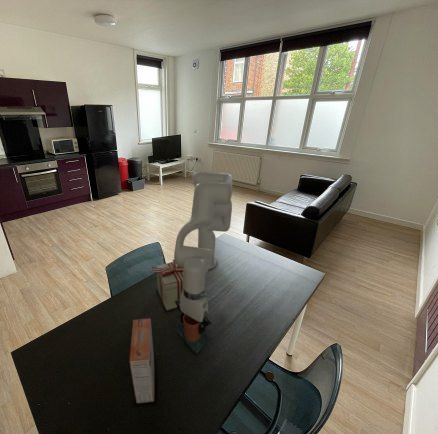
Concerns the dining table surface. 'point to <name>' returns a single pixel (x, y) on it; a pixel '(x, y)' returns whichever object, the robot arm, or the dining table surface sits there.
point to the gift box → (169, 283)
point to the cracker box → (142, 360)
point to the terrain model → (197, 344)
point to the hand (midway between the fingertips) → (192, 325)
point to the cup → (191, 328)
